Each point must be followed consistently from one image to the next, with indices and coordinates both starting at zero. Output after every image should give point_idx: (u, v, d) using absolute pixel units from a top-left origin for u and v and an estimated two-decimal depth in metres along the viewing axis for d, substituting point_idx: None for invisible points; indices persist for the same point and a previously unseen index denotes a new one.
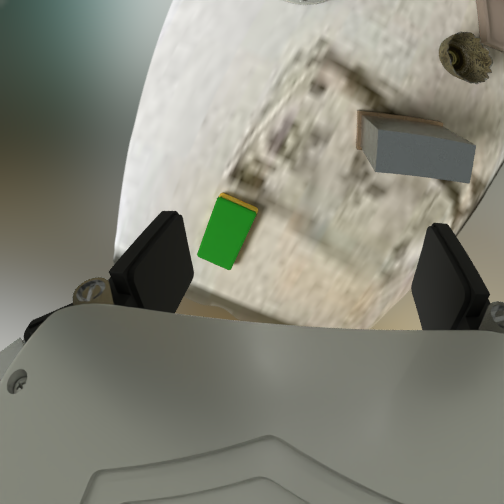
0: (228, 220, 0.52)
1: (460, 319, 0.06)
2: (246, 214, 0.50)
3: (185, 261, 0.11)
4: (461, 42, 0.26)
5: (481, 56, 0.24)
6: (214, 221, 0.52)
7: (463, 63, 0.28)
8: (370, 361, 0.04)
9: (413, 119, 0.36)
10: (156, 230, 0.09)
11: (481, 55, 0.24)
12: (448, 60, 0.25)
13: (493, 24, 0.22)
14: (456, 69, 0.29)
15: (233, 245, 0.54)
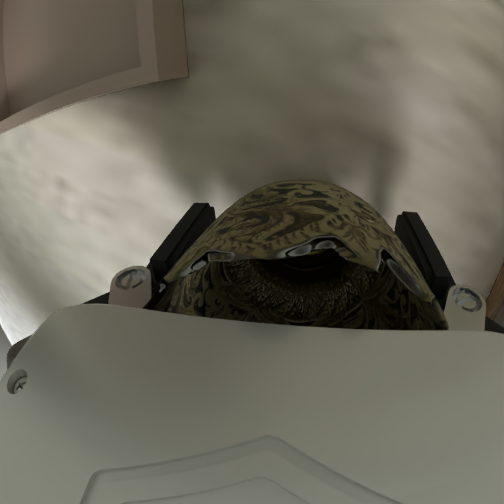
0: None
1: None
2: None
3: None
4: None
5: None
6: None
7: None
8: (370, 361, 0.04)
9: None
10: (192, 220, 0.10)
11: None
12: None
13: (82, 44, 0.08)
14: None
15: None
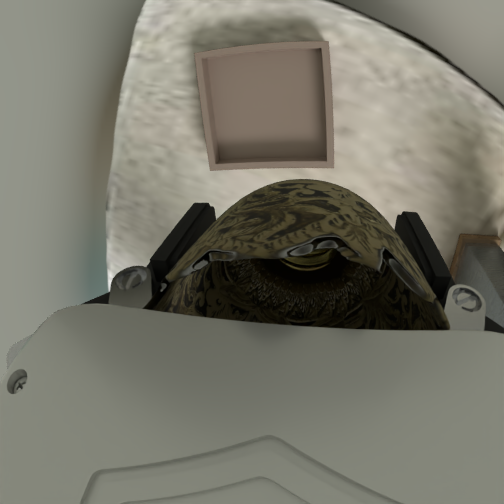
0: None
1: None
2: None
3: None
4: None
5: None
6: None
7: None
8: (370, 361, 0.04)
9: (453, 276, 0.29)
10: (193, 220, 0.10)
11: None
12: None
13: (284, 136, 0.25)
14: None
15: None
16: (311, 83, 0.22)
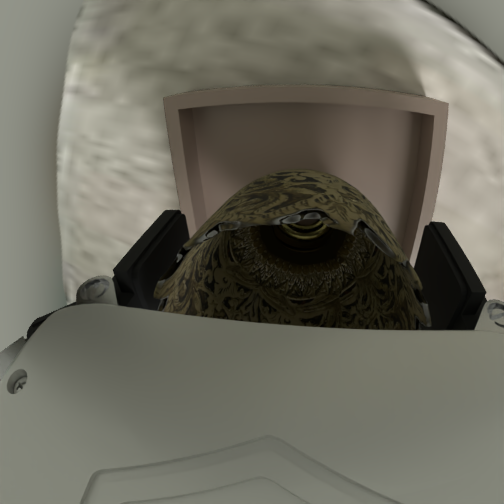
0: None
1: (456, 317, 0.07)
2: None
3: None
4: None
5: None
6: None
7: None
8: (370, 361, 0.04)
9: None
10: (160, 229, 0.10)
11: (248, 191, 0.08)
12: None
13: None
14: None
15: None
16: (394, 175, 0.12)
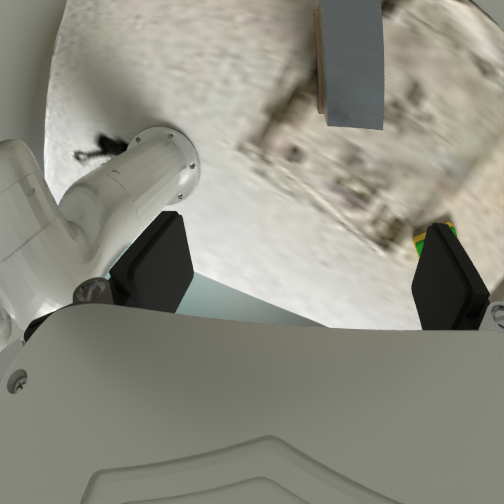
0: None
1: (460, 319, 0.06)
2: None
3: (185, 261, 0.11)
4: None
5: None
6: None
7: None
8: (369, 362, 0.04)
9: (318, 47, 0.29)
10: (157, 230, 0.09)
11: None
12: None
13: None
14: None
15: None
16: None
